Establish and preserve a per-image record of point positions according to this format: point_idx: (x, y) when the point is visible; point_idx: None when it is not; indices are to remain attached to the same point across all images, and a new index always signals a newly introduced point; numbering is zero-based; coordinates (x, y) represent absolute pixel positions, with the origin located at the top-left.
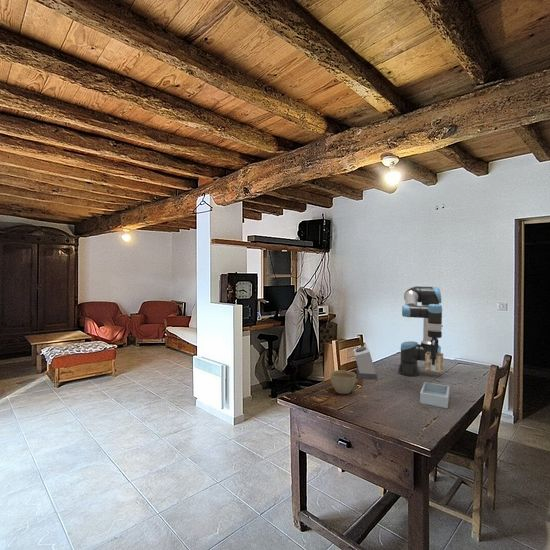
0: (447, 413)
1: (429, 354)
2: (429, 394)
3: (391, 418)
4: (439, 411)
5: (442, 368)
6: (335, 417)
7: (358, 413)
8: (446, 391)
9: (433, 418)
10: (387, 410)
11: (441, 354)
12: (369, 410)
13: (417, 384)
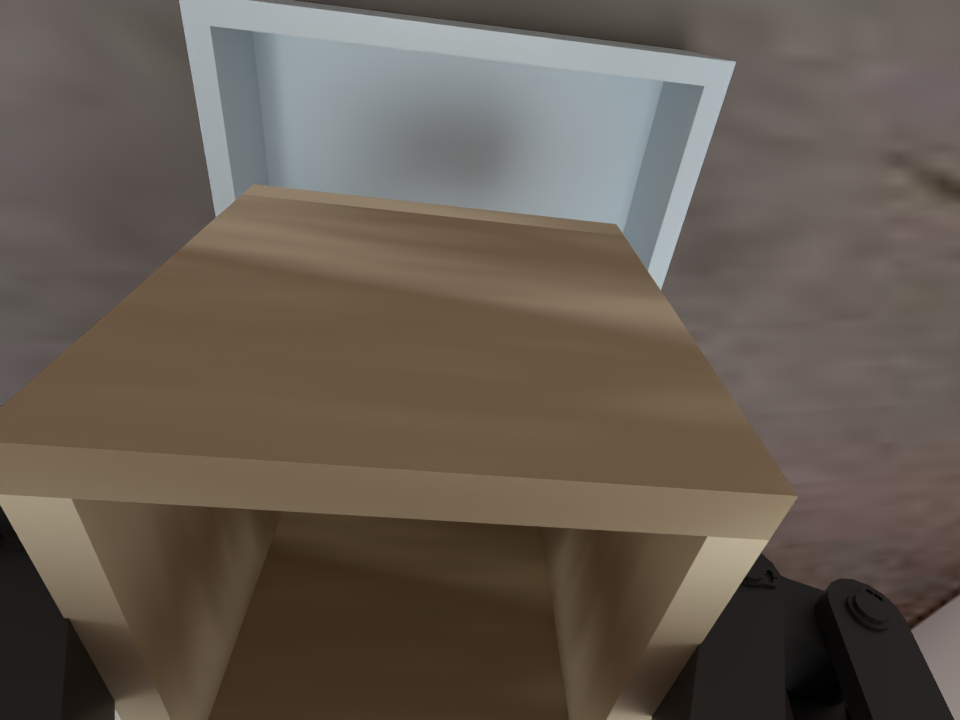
0: (826, 61)
1: (215, 669)
2: (667, 265)
3: (939, 439)
4: (783, 138)
5: (452, 223)
6: (922, 617)
7: (869, 564)
8: (241, 35)
9: (947, 196)
10: (811, 467)
11: (301, 508)
12: (822, 534)
13: (84, 327)
